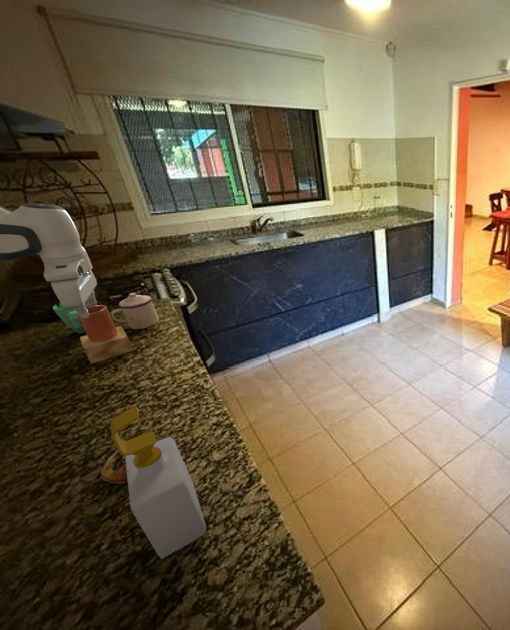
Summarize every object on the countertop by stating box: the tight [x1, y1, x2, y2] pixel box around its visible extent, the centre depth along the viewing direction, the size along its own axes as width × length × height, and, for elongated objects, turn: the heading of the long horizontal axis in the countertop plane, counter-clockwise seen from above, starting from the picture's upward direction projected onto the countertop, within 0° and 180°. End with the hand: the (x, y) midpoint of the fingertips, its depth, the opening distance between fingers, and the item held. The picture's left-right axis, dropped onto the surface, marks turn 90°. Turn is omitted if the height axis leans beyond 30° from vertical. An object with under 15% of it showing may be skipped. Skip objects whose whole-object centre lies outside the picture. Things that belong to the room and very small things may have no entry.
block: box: [79, 325, 134, 364], centre depth 105 cm, size 10×10×5 cm
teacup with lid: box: [110, 292, 160, 330], centre depth 118 cm, size 12×9×12 cm
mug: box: [52, 300, 90, 334], centre depth 114 cm, size 15×10×10 cm
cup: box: [76, 304, 118, 342], centre depth 102 cm, size 7×7×9 cm
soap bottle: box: [110, 405, 207, 560], centre depth 53 cm, size 12×7×23 cm, turn 41°
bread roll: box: [100, 434, 164, 485], centre depth 68 cm, size 11×11×5 cm
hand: (89, 310), depth 99 cm, fingers open, 8 cm apart
